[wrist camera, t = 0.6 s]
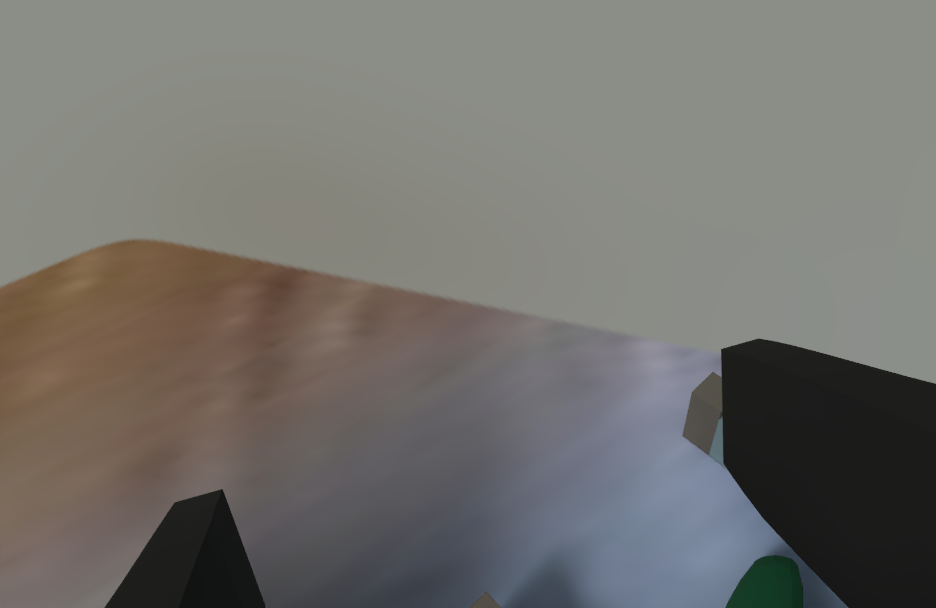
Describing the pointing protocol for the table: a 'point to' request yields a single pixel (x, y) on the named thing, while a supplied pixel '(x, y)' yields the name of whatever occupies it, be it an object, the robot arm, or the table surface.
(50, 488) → the table surface
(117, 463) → the table surface
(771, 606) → the dark green curved piece
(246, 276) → the table surface
